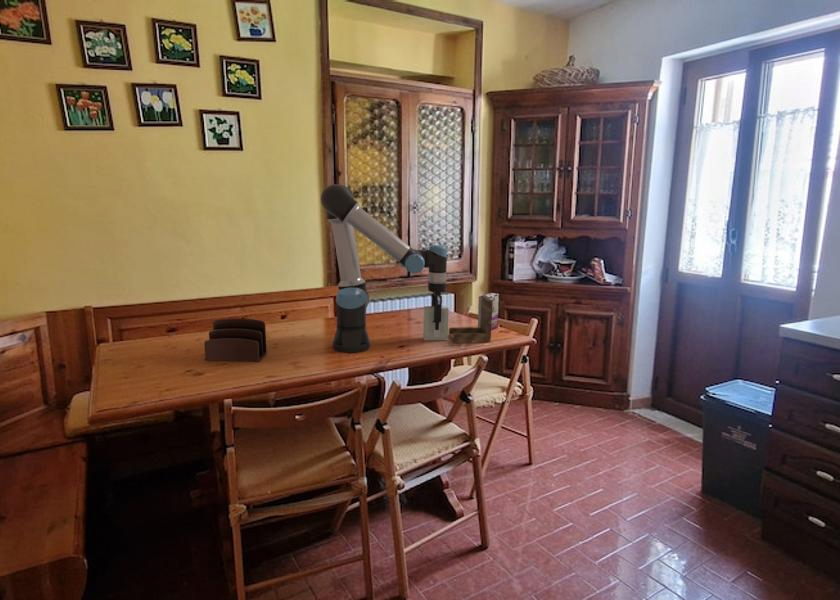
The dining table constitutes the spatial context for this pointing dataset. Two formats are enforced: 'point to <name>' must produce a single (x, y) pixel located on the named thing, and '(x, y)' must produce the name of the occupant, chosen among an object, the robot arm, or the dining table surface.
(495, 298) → the candy bar box
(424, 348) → the dining table surface
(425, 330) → the door panel
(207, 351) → the letter holder
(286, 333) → the dining table surface
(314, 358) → the dining table surface
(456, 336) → the track
